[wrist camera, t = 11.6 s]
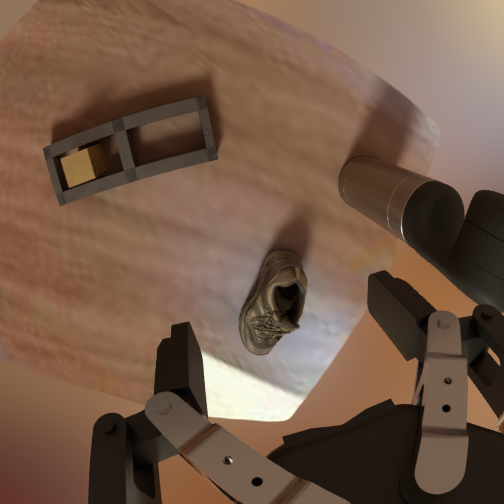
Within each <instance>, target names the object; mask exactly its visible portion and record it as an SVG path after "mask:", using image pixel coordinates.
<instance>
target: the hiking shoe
mask: <svg viewBox="0 0 504 504" xmlns="http://www.w3.org/2000/svg"><path fill="white" fill-rule="evenodd" d="M306 292H307V278H306V276H305V273H304V271H303V270H302V265H301V263H300V259H299V257H298V255H297V254H295V253H293V252H290V251H285V250H281V251H274V252H272V253H271V254H268V256H267V257H266V258H265V260H264V261H263V266H261V269H260V274H259V277H258V286H257V289H256V291H255V293H254V295H253V296H252V297H251V298H249V299H248V300H247V301H246V304H245V305H244V306H243V308H242V310H241V316H240V317H239V323H240V324H239V333H240V336H241V340H242V343H243V345H244V346H245V348H246V349H247V350H248V351H249V352H251V353H252V354H255V355H266V354H268V353H269V352H270V351H271V350H272V348H273V347H274V346H275V345H276V343H277V342H278V341H279V340H280V339H281V337H283V335H285V334H286V333H287V334H289V333H291V332H293V331H295V330H297V329H299V327H300V326H299V324H297V323H298V322H299V319H300V317H301V315H302V313H303V308H304V303H305V297H306ZM277 304H279V305H278V307H277Z"/></svg>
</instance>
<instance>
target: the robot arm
mask: <svg viewBox="0 0 504 504" xmlns="http://www.w3.org/2000/svg"><path fill="white" fill-rule="evenodd" d="M339 192H340V194H341V197H342V199H343V200H344V201H345V202H346V203H347V204H348V205H349V206H351V207H353V208H354V209H356V210H357V211H359V212H360V213H362V214H363V215H365V216H366V217H368V218H369V219H371V220H372V221H374V222H375V223H377V224H378V225H380V226H381V227H383V228H384V229H386V230H387V231H389V232H390V233H392V234H393V235H394V236H396V237H397V238H399V239H400V240H402V241H403V242H405V243H406V244H407V245H409V246H410V247H412V248H413V249H414V250H415V251H416V252H417V253H418V254H419V255H420V256H421V257H423V258H424V259H425V260H427V261H428V262H429V263H431V264H432V265H433V266H434V267H435V268H436V269H438V270H439V271H440V272H441V273H442V274H443V275H444V276H445V277H446V278H447V279H448V280H449V281H451V282H452V283H453V284H454V285H455V286H456V287H457V288H458V289H460V290H461V291H462V292H463V293H464V294H465V295H466V296H467V297H469V298H470V299H472V300H473V301H474V302H476V303H477V304H479V305H478V306H476V307H475V308H474V310H473V314H472V316H468V317H462V318H457V317H456V316H455V315H454V314H453V313H451V312H448V311H437V310H436V309H435V308H434V307H433V306H432V305H431V304H430V303H429V302H427V301H426V299H424V298H423V297H422V296H421V295H419V293H418V292H417V291H416V290H415V289H413V287H412V286H411V285H409V284H408V283H407V282H406V281H404V280H402V279H399V278H393V277H392V276H391V275H390V274H389V273H388V272H387V271H386V270H383V271H380V272H377V273H373V274H370V275H369V277H368V297H367V305H368V309H369V312H370V314H371V315H372V316H373V318H374V319H375V320H376V322H377V323H378V324H379V326H380V327H381V328H382V329H383V331H384V332H385V333H386V334H387V336H388V337H389V338H390V340H391V341H392V342H393V344H394V345H395V346H396V347H397V349H398V350H399V351H400V353H401V354H402V355H403V357H404V358H405V359H406V361H409V360H411V359H413V358H415V357H416V358H417V359H418V362H417V368H416V376H415V384H414V391H413V397H412V402H411V404H398V405H394V403H393V402H392V400H391V399H388V400H386V401H384V402H382V403H379V404H377V405H374V406H372V407H370V408H368V409H366V410H364V411H362V412H361V413H360V414H358V415H357V416H355V417H354V418H352V419H351V420H349V421H348V422H346V423H344V424H342V425H339V426H330V427H321V428H311V429H308V430H305V431H301V432H298V433H294V434H290V435H287V436H283V441H284V444H283V445H281V446H279V447H277V448H276V449H274V450H273V451H271V452H270V453H269V454H268V455H267V456H266V457H264V456H263V455H261V454H259V453H258V452H257V451H255V450H254V449H252V448H251V447H249V446H248V445H246V444H245V443H243V442H242V441H241V440H239V439H238V438H237V437H235V436H234V435H233V434H231V433H230V432H228V431H227V430H226V429H224V428H223V427H222V426H220V425H218V424H216V423H215V424H211V423H210V422H209V421H208V412H207V402H206V392H205V381H204V369H203V359H202V354H201V350H200V347H199V345H198V342H197V340H196V337H195V334H194V332H193V329H192V327H191V324H190V322H184V323H179V324H175V325H172V326H171V338H166V339H163V340H162V341H161V343H160V345H159V347H158V348H157V360H156V371H155V384H154V396H152V397H151V398H150V399H149V400H148V402H147V403H146V405H145V409H144V410H143V411H141V412H139V413H137V414H134V415H132V416H129V417H127V418H123V417H122V416H121V415H120V414H117V413H108V414H105V415H103V416H101V417H100V418H99V419H98V420H97V421H96V423H95V425H94V428H93V436H92V446H91V458H90V472H89V497H88V504H162V499H161V490H160V480H159V468H158V462H160V461H162V460H165V459H167V458H170V457H172V456H174V455H177V454H179V455H180V456H181V457H182V458H183V459H184V460H185V461H186V462H187V463H188V464H189V465H190V466H191V467H192V468H193V469H194V470H196V471H197V472H198V473H199V474H200V475H201V476H202V477H203V478H205V479H206V480H207V481H208V482H209V483H210V484H211V485H212V486H213V487H214V488H216V489H217V490H218V491H219V492H220V493H222V494H223V495H224V496H225V497H226V498H228V499H229V500H230V501H232V502H233V503H234V504H504V316H503V315H502V314H501V313H503V312H504V195H503V194H500V193H497V192H495V191H490V190H480V191H478V192H476V193H475V194H474V196H473V198H472V200H471V203H470V205H469V208H468V211H467V214H466V216H464V206H463V202H462V199H461V197H460V195H459V194H458V192H457V191H456V190H455V189H454V188H452V187H451V186H449V185H447V184H444V183H442V182H439V181H437V180H434V179H432V178H429V177H426V176H423V175H421V174H418V173H415V172H413V171H410V170H407V169H404V168H401V167H399V166H396V165H393V164H390V163H387V162H384V161H381V160H378V159H375V158H372V157H368V156H358V157H355V158H353V159H352V160H350V161H349V162H348V163H347V164H346V165H345V166H344V168H343V169H342V171H341V174H340V177H339ZM464 218H466V219H464ZM489 347H490V348H491V349H492V350H493V352H494V353H495V354H496V355H497V356H498V358H499V360H500V366H499V365H498V364H497V362H496V361H494V359H493V358H492V357H491V355H490V354H489V353H488V349H489ZM467 375H468V376H469V377H470V379H471V380H472V381H473V383H474V384H475V386H476V387H477V388H478V390H479V391H480V393H481V394H482V395H483V397H484V398H485V400H486V401H487V403H488V404H489V405H490V407H491V408H492V410H493V411H494V413H495V414H496V416H497V417H498V419H499V420H498V427H499V431H498V432H496V431H493V430H490V429H486V428H483V427H480V426H477V425H474V424H471V423H468V422H467V394H468V388H467V387H468V383H467Z"/></svg>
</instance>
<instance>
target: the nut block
mask: <svg viewBox="0 0 504 504" xmlns="http://www.w3.org/2000/svg"><path fill="white" fill-rule="evenodd" d="M61 163H62V166H63V170H64V173H65V176H66V180H67V183H68V186H69V188H70V187H73V186H75V185H78V184H81V183H83V182H86V181H89V180H91V179H94V178H96V177H98V176H99V175H100V174H102V173H103V172H104V171H106V170H107V169H109V168H108V164H107V161H106V157H105V153H104V150H103V146H102V143H100V144H97V145H95V146H92V147H89V148H86V149H84V150H81V151H79V152H76V153H74V154H71V155H69V156H66V157H64V158H62V159H61Z"/></svg>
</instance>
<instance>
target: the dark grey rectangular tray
mask: <svg viewBox="0 0 504 504" xmlns="http://www.w3.org/2000/svg"><path fill="white" fill-rule="evenodd" d="M194 111H198V113H199V118H200V123H201V127H202V132H203V137H204V142H205V146H206V147H201V148H197V149H193V150H189V151H185V152H181V153H177V154H173V155H169V156H166V157H162V158H158V159H155V160H151V161H148V162H144V163H141V164H138V161H137V157H136V153H135V149H134V145H133V141H132V137H131V133H130V129H131V128H134V127H138V126H141V125H144V124H148V123H151V122H155V121H159V120H162V119H166V118H170V117H174V116H178V115H182V114H186V113H190V112H194ZM113 134H115V138H116V142H117V146H118V150H119V154H120V158H121V161H122V165H123V169H121V170H118V171H115V172H112V173H109V174H106V175H103V176H100V177H97V178H94V179H91V180H89V181H86V182H83V183H81V184H78V185H75V186H73V187H70V188H69V186H68V183H67V180H66V176H65V173H64V170H63V166H62V163H61V155H60V154H62V153H64V152H67V151H69V150H72V149H74V148H77V147H80V146H82V145H85V144H87V143H90V142H93V141H96V140H98V139H101V138H104V137H107V136H110V135H113ZM43 151H44V155H45V159H46V163H47V166H48V170H49V173H50V177H51V180H52V183H53V186H54V190H55V193H56V196H57V199H58V202H59V205H60V206H62V205H64V204H67V203H70V202H73V201H75V200H78V199H81V198H84V197H87V196H90V195H93V194H96V193H99V192H102V191H105V190H108V189H111V188H114V187H117V186H120V185H124V184H127V183H130V182H134V181H137V180H140V179H144V178H147V177H151V176H154V175H158V174H161V173H165V172H169V171H173V170H176V169H180V168H184V167H188V166H192V165H196V164H200V163H204V162H209V161H213V160H217V159H218V156H217V151H216V147H215V142H214V137H213V132H212V127H211V122H210V117H209V112H208V107H207V102H206V97H205V96H200V97H196V98H191V99H187V100H183V101H178V102H174V103H171V104H167V105H163V106H159V107H156V108H152V109H148V110H145V111H142V112H138V113H135V114H132V115H129V116H125V117H122V118H119V119H116V120H113V121H110V122H107V123H105V124H102V125H99V126H96V127H93V128H91V129H88V130H86V131H83V132H80V133H78V134H75V135H73V136H70V137H68V138H66V139H63V140H61V141H58V142H56V143H54V144H52V145H49V146H47V147H45V148H43Z"/></svg>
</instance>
